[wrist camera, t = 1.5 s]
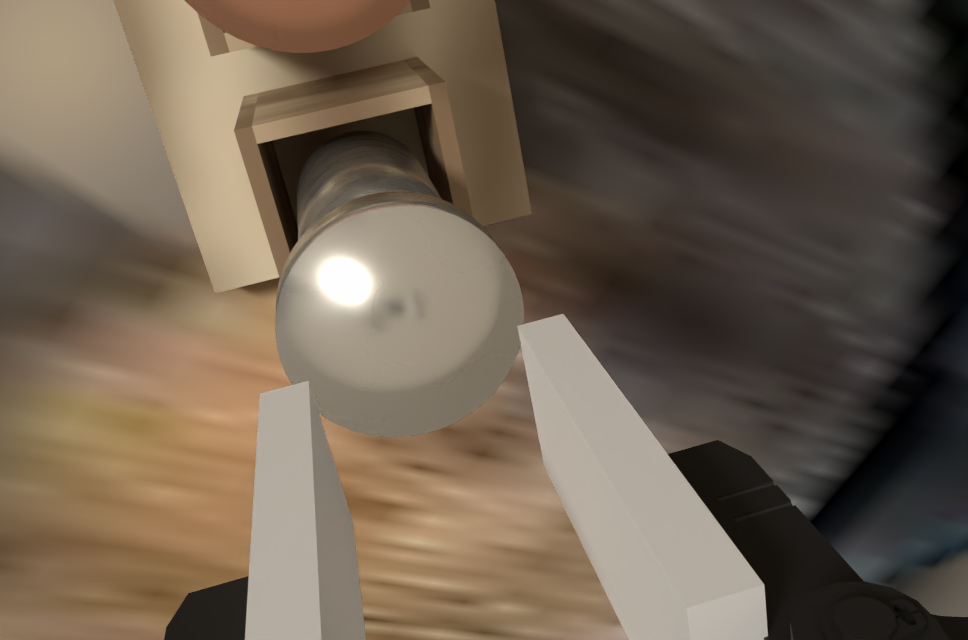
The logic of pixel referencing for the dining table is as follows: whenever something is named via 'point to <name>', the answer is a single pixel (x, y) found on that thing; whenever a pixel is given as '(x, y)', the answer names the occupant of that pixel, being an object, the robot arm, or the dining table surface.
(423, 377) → the cream plunger
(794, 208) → the dining table surface
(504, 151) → the beige boxy slotted piece
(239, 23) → the terracotta plunger
